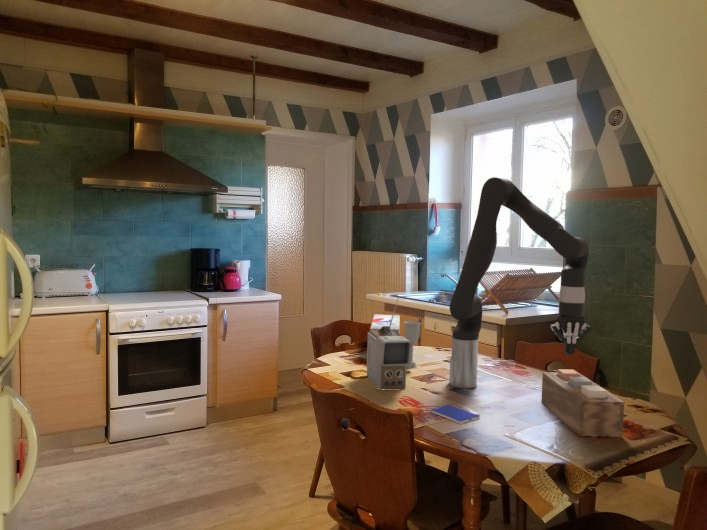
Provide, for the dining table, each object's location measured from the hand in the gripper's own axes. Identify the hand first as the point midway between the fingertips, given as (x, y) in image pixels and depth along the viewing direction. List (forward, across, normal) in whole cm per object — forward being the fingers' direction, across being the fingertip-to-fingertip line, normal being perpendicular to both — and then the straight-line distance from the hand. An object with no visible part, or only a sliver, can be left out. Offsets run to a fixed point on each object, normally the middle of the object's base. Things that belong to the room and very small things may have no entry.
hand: (569, 354), depth 178 cm
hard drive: (+18, -38, -8) cm, 42 cm away
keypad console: (+18, 0, -9) cm, 20 cm away
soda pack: (+17, -52, +79) cm, 96 cm away
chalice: (+17, -44, +49) cm, 68 cm away
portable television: (+17, -55, +25) cm, 63 cm away
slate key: (+10, 0, -9) cm, 14 cm away
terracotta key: (+10, 0, 0) cm, 10 cm away
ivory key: (+10, 0, -18) cm, 21 cm away
